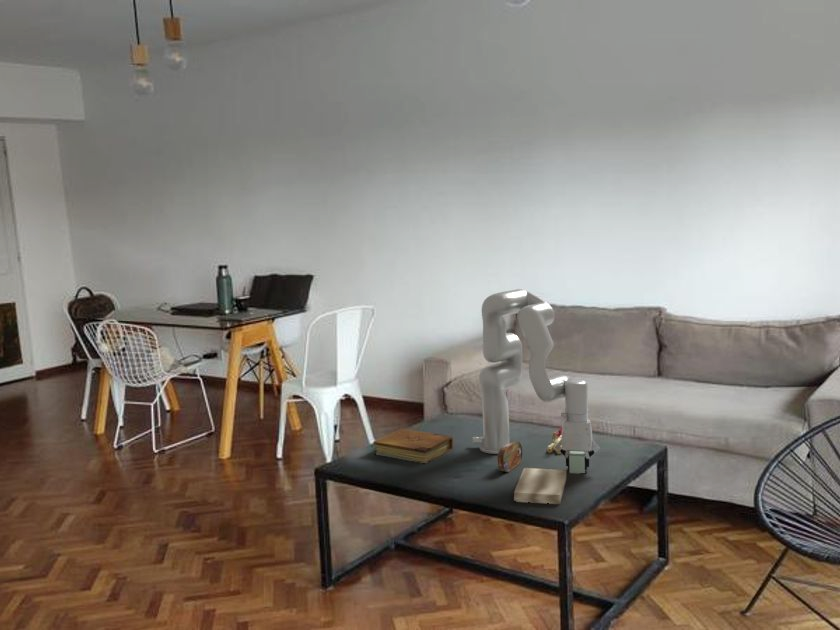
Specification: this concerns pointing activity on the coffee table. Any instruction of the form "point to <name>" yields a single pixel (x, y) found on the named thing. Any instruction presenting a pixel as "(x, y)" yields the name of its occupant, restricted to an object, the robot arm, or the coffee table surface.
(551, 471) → the base block
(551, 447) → the cream elongated piece
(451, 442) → the diary
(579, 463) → the block
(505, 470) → the tin
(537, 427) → the coffee table surface
